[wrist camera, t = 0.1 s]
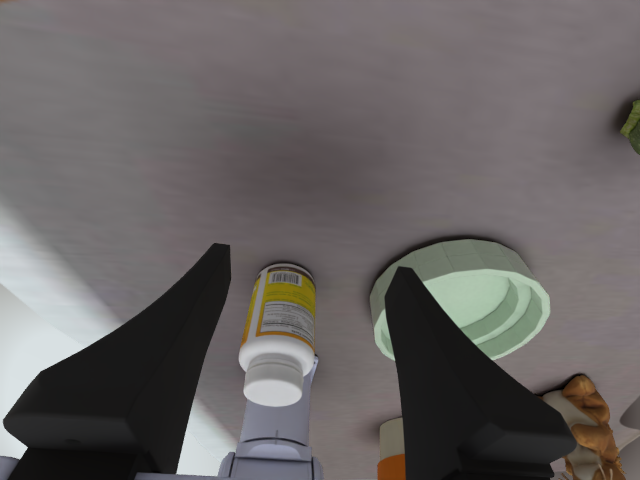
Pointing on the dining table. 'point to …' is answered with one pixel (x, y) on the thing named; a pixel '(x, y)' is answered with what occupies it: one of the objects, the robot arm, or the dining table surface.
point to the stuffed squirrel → (587, 431)
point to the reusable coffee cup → (392, 451)
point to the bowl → (472, 294)
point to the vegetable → (633, 127)
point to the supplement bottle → (279, 335)
